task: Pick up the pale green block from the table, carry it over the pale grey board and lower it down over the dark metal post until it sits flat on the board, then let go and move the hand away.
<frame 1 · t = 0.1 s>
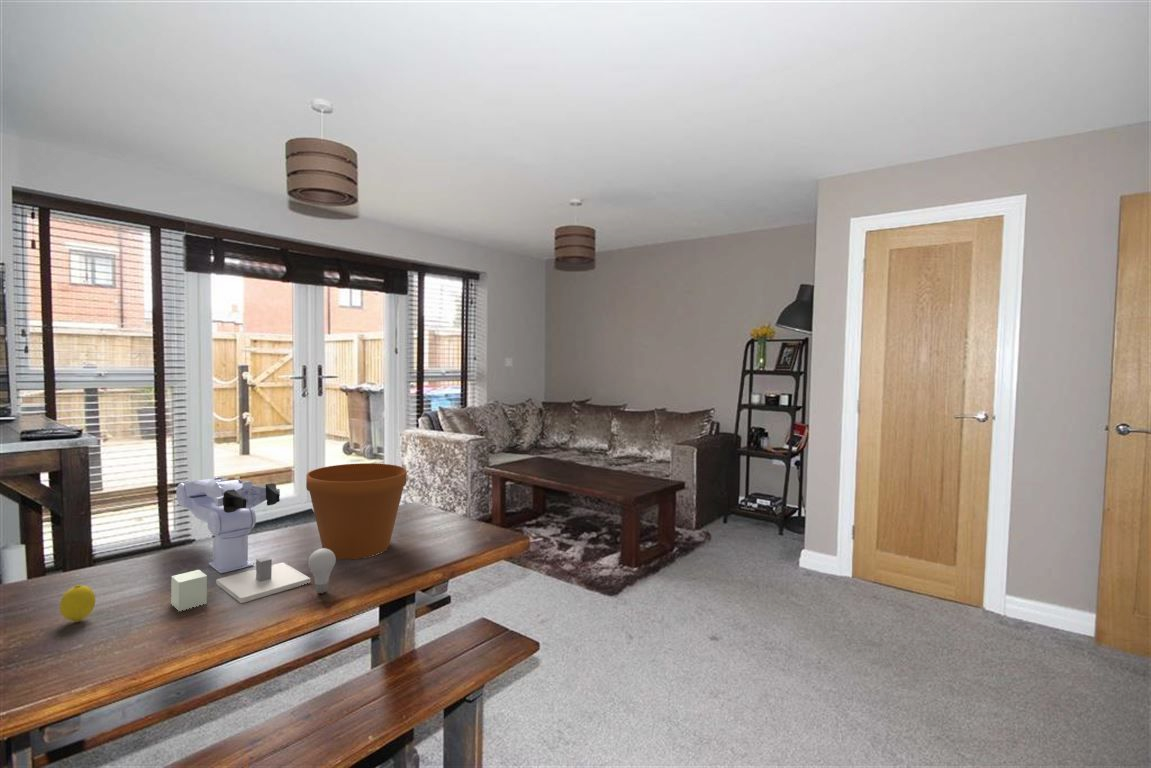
hand: (261, 500, 134), 22 cm above the table, tool horizontal, fingers open, 7 cm apart
pale green block: (189, 604, 124), on the table
lemon: (77, 622, 115), on the table
flowerpot: (356, 549, 164), on the table
lightbulb: (321, 594, 132), on the table
post board: (263, 583, 137), on the table
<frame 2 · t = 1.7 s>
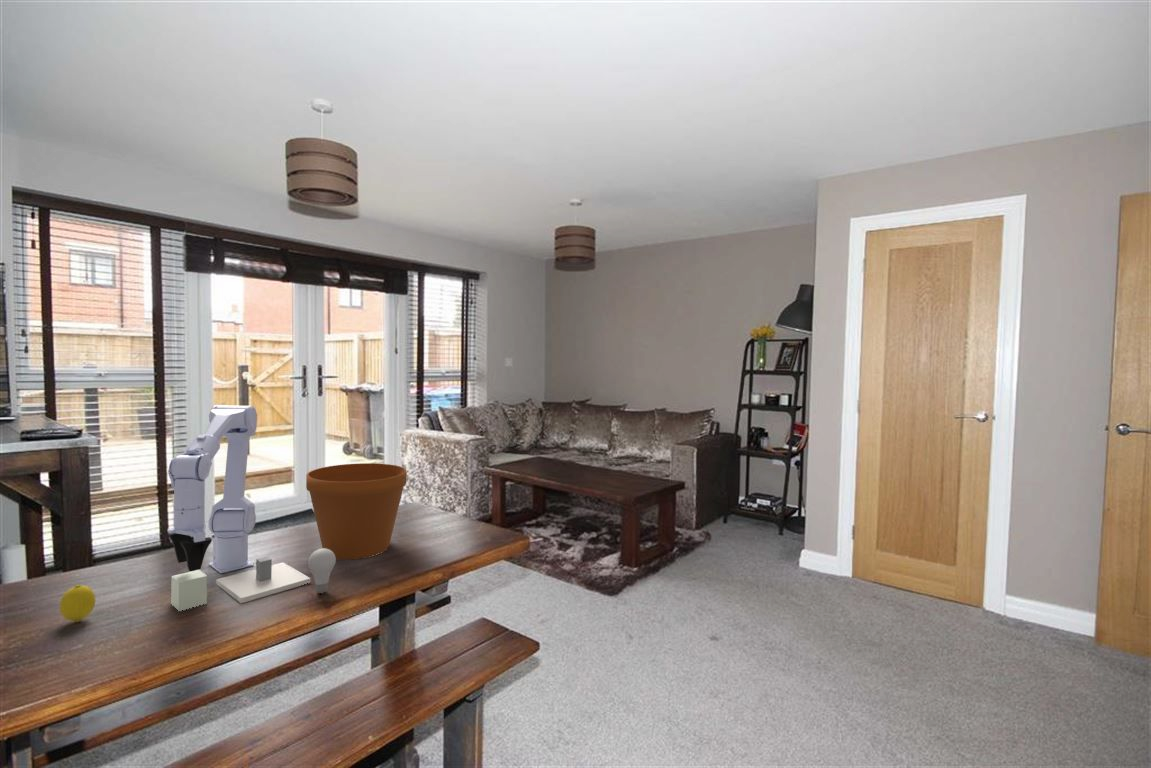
hand: (189, 565, 124), 9 cm above the table, tool pointing down, fingers open, 7 cm apart
nothing on the table moved.
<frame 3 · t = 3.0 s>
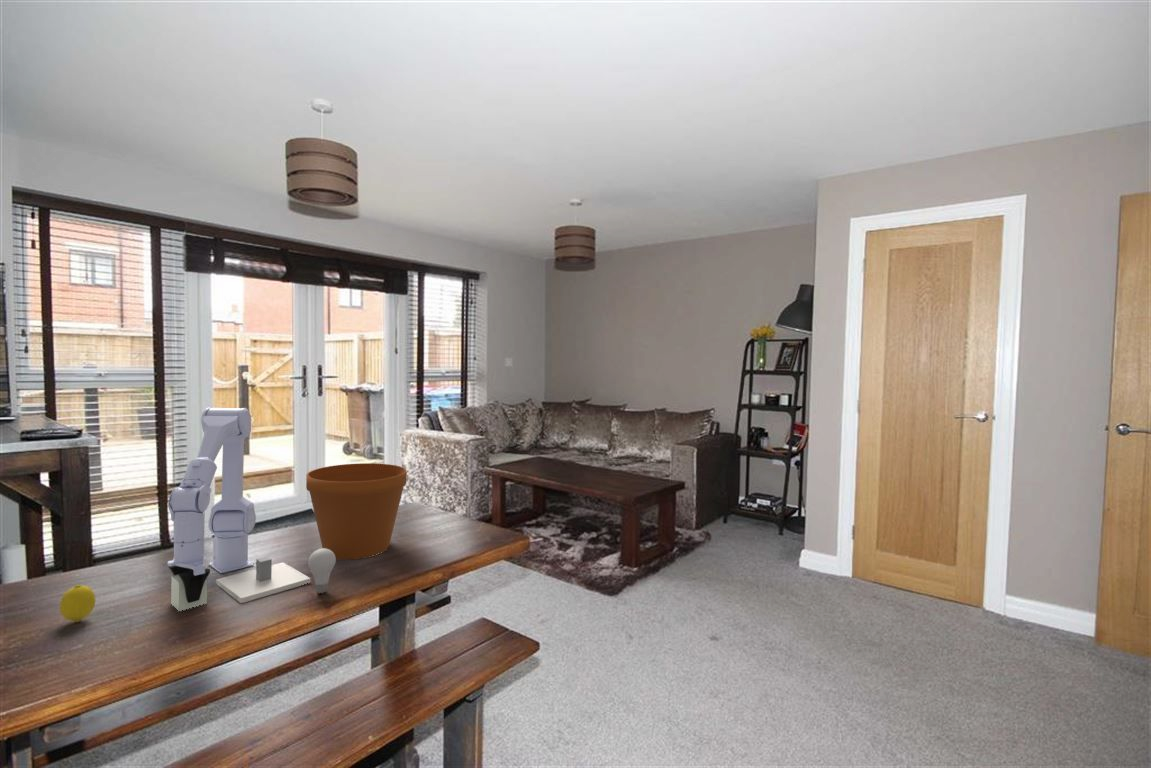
hand: (189, 597, 124), 2 cm above the table, tool pointing down, fingers closed on pale green block, 5 cm apart
pale green block: (189, 604, 124), on the table, touching gripper
everything else where it was.
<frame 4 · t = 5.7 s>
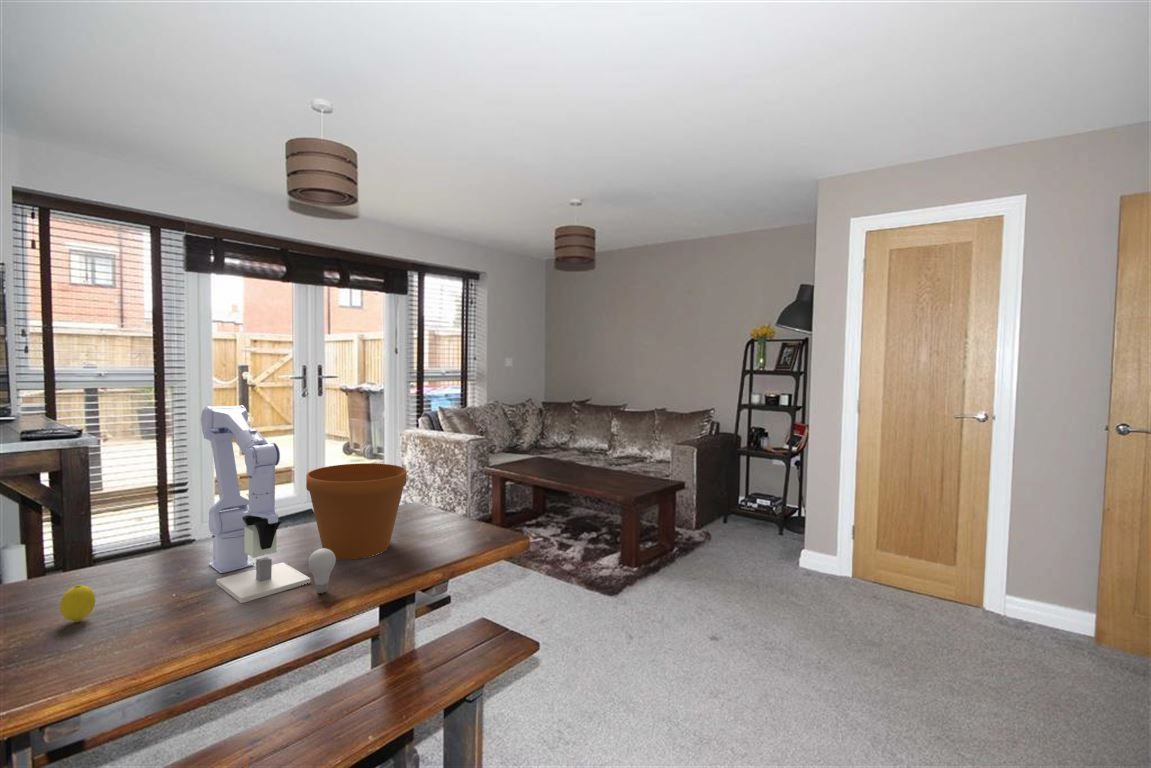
hand: (261, 545, 136), 10 cm above the table, tool pointing down, fingers closed on pale green block, 5 cm apart
pale green block: (260, 552, 136), point 8 cm above the table, touching gripper
everything else where it was.
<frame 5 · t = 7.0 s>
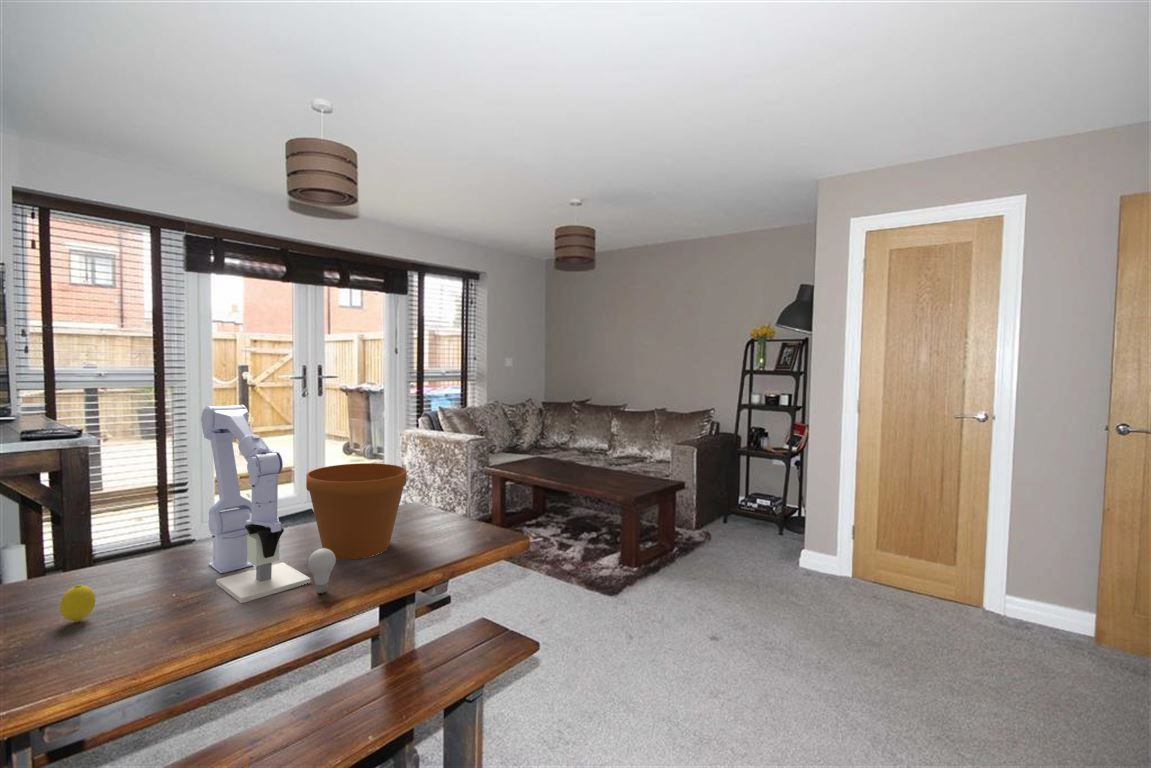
hand: (264, 553, 137), 8 cm above the table, tool pointing down, fingers closed on pale green block, 5 cm apart
pale green block: (263, 560, 136), point 6 cm above the table, touching gripper
everything else where it was.
when the fingers open (4 cm above the table, at t = 8.4 s): pale green block stays where it is, resting on post board.
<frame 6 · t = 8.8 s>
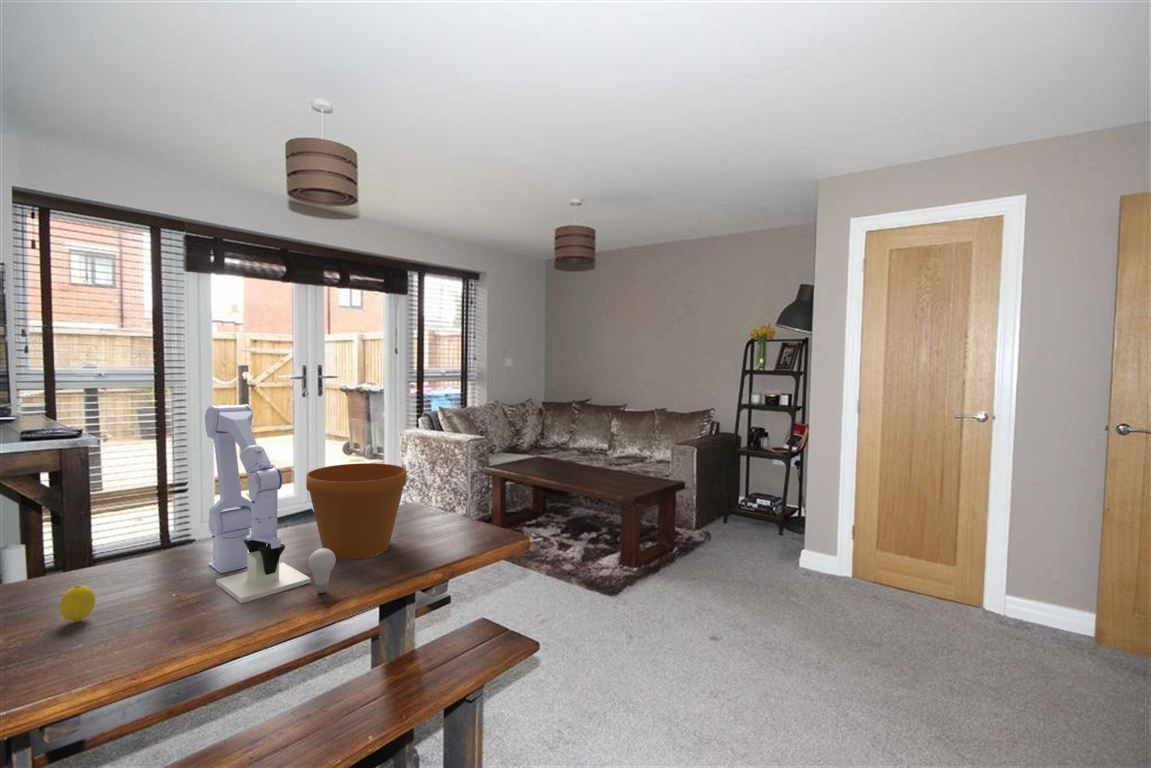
hand: (263, 569, 137), 4 cm above the table, tool pointing down, fingers open, 7 cm apart
pale green block: (263, 578, 137), point 1 cm above the table, touching post board
everything else where it was.
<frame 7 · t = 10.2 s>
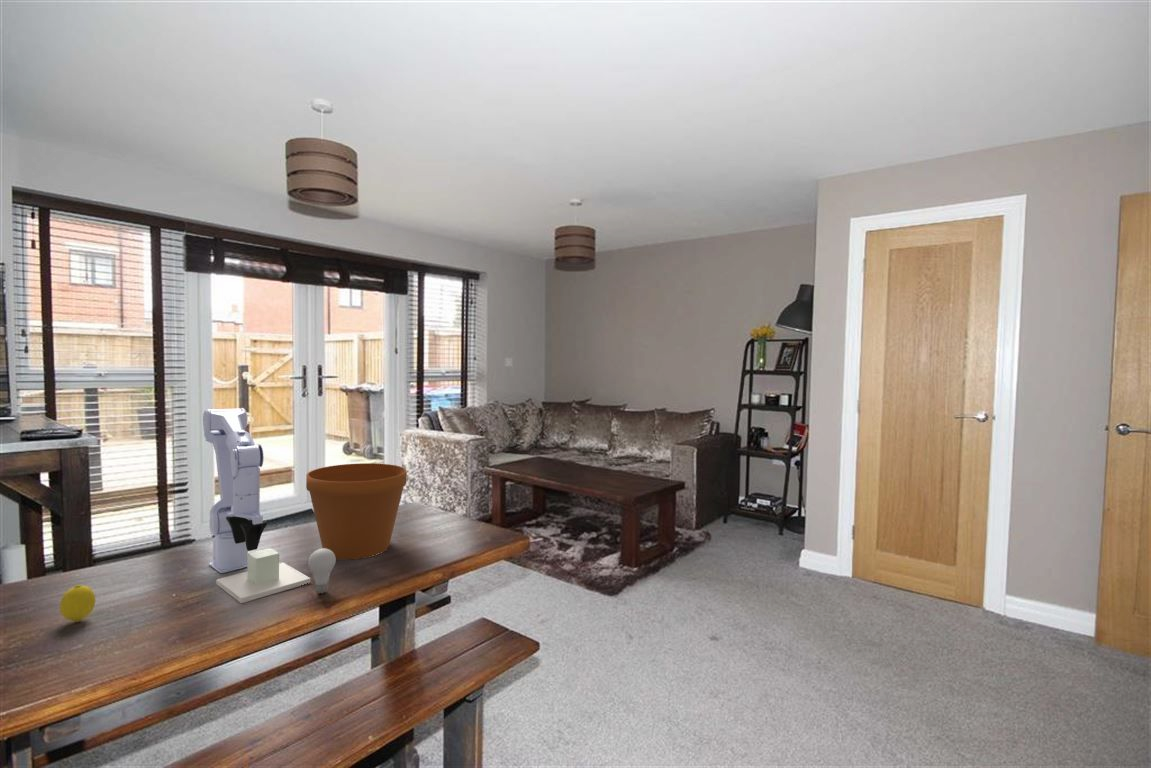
hand: (246, 546, 137), 9 cm above the table, tool pointing down, fingers open, 7 cm apart
nothing on the table moved.
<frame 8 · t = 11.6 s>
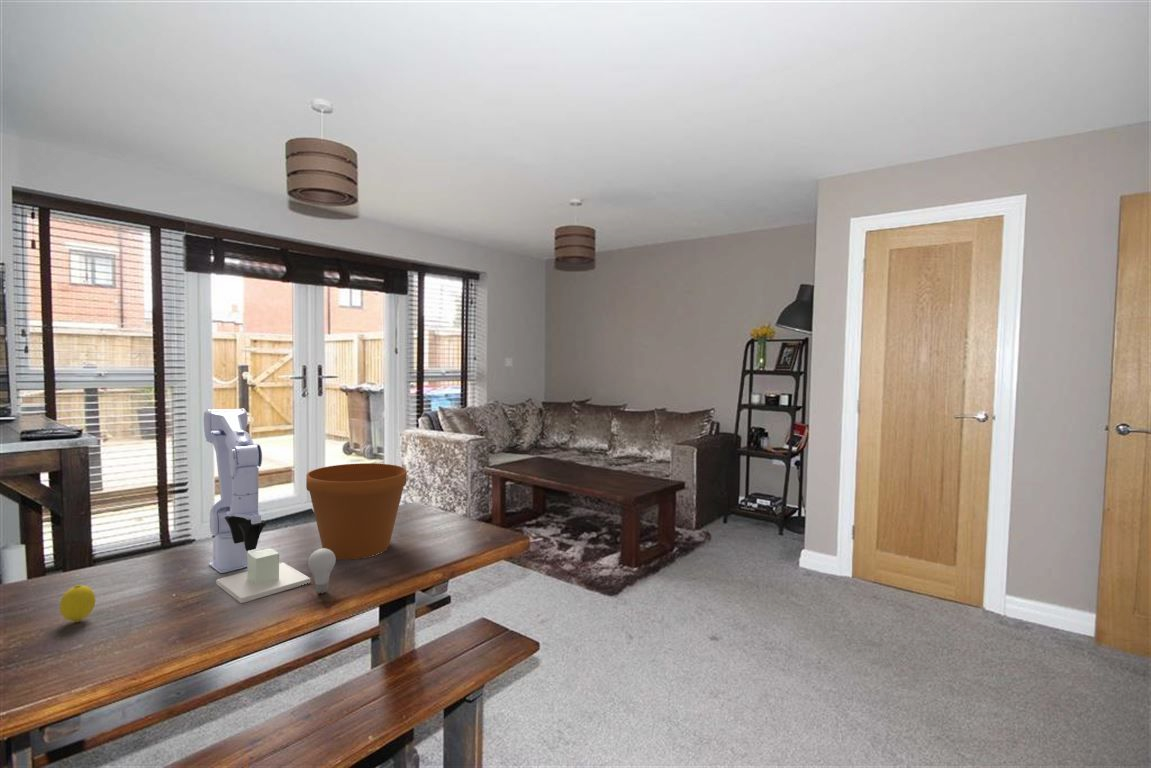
hand: (244, 546, 137), 9 cm above the table, tool pointing down, fingers open, 7 cm apart
nothing on the table moved.
at the end: pale green block 0.1 cm from the post board (horizontally); pale green block point 1.2 cm above the table; pale green block tilted 0° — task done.
